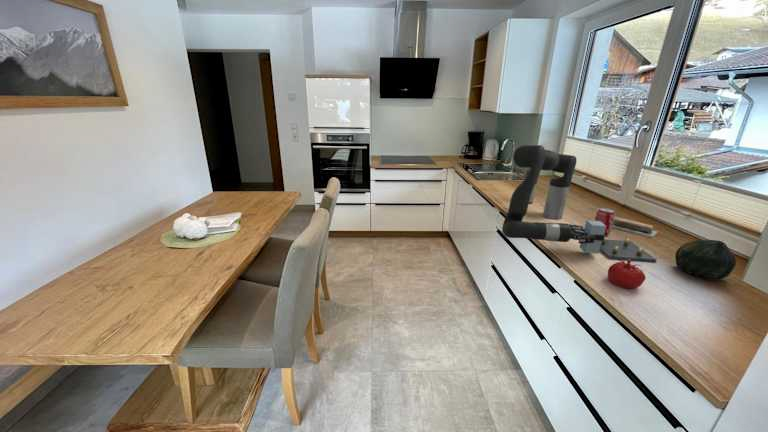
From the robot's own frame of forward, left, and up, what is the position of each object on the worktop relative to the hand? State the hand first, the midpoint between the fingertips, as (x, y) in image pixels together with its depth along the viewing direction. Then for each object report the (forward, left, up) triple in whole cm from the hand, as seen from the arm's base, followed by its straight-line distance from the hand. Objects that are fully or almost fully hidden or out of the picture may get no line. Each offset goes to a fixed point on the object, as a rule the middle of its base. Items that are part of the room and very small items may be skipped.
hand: (600, 234), depth 123 cm
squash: (+32, +3, -9) cm, 34 cm away
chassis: (+9, +10, -9) cm, 16 cm away
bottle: (-33, +59, -9) cm, 68 cm away
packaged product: (+17, +41, -10) cm, 45 cm away
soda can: (+3, +27, -9) cm, 28 cm away
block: (-2, -1, -7) cm, 7 cm away
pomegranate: (+7, -20, -9) cm, 23 cm away
